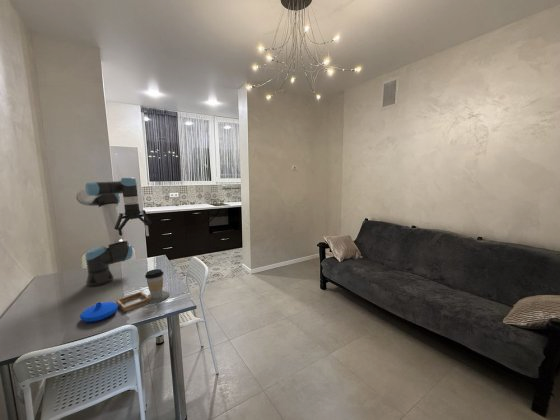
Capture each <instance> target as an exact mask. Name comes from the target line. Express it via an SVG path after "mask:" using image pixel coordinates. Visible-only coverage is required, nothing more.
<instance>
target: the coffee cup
mask: <svg viewBox="0 0 560 420" xmlns="http://www.w3.org/2000/svg"><path fill="white" fill-rule="evenodd" d="M163 275H164V272H163V271H162V269H160V268H158V269H157V268H156V269H151V270H148V271H147V272H146V273H145V275H144V277H145V279H146V282H147V287H148V291H149V294H150V295H151V298H152V299H157V298H160V297H162V295H163V291H164V290H163V287H164V277H163Z"/></svg>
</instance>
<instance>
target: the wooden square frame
mask: <svg viewBox="0 0 560 420" xmlns="http://www.w3.org/2000/svg"><path fill="white" fill-rule="evenodd" d="M138 298H142V300H139V301H137V302H135V303H132V304H129V305H127V306H126V305H124V303H126V302H129V301H132V300H135V299H138ZM144 298H145V299H144ZM115 301H116V302H115V303H116V304H117V305H118V308H120V310H121V311H122V312H124V313H127V312H129V311H132V310H134V309H137V308H139V307H143V306H144V305H147V304H149V303H148V302H149V301H151V300H150V297H148V296H147V294H146V293H145V292H143V291H142V290H141V291H138V292H136V293H133V294H130V295H126V296H124V297H121V298H119V299H116V300H115Z"/></svg>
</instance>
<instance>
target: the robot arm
mask: <svg viewBox="0 0 560 420" xmlns="http://www.w3.org/2000/svg"><path fill="white" fill-rule="evenodd" d="M137 185H138V184H137V179H136V178H135V177H121V179H120V180H118V181H117V180H116V181H115V180H114V181H91V182H87V183H86V184H85V189H81V190H80V191H78V192H77V194H76V196H75V197H76V200H77V202H78V203H79V204H82V205H84V206H88V207H96V206H97V207H98V208H99V210H101V211H102V214H103V219H104V223H105V227H106V230H107V236H108V239H109V244H108V247H107V246H104V245H103V246H96V247H94V248H91V249H89V250H87V251H86V252H85V253H84V254H85V262H86V267H87V268H86V269H87V278H86V281H85V284H86V287H88V286H89V287H90V288H96V287H100V286H101V287H102V286H104V285H108V284H109V283H111V282H113V281H114V279H115V278H114V274H113V272H112V271H111V269H110V266H111V265H114V264H117V263H122V262H125V261H128V260H130V259H132V258H133V257H132V256H133V250H134V249H133V245H132V243H131V242H128V240H127V239H125V233H124V230H123V228H124V227H125V225H127V223H128V221H130V220H135V219H136V220H137V219H139V220H140V221H141V222H142V223H143V224H144V232H145V236H146V237H149V236H150V233H149V231H150V230H151V229H150V225H152V224H153V221H152V220H151V219H150V217H149V216H148V215H147V212H146V210H145V209H141V210H140V204H139V193H138V187H137ZM119 194H120V195H121V194H122V197H123V198H122V199H123V204H124V212H119V213H118V209H117V207H118V206H119V204H120V202H121V199H120V198H121V197H120V195H119ZM141 214H142V215H143V217H144V218H145V219H144V218H143V217H142V216H141ZM124 216H125V218H124ZM123 218H124V220H123ZM122 220H123V221H122ZM89 287H88V288H89Z"/></svg>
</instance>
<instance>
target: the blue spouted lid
mask: <svg viewBox="0 0 560 420" xmlns="http://www.w3.org/2000/svg"><path fill="white" fill-rule="evenodd" d="M118 308H119V306H118V305H117V303H116V302H113V301H107V302H97V303H95V304H94V305H92V306H90V307H87V308H86V309H84V310H83V311H82V312H81V313H80V316H79V318H80V320H81V321H83V322H86V323H87V322H89V323H90V322H91V323H92V322H98V321H102V320H104V319H107V318H108V317H110V316H111V315H113V314H115V313H116V312H117V311H118Z"/></svg>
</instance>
